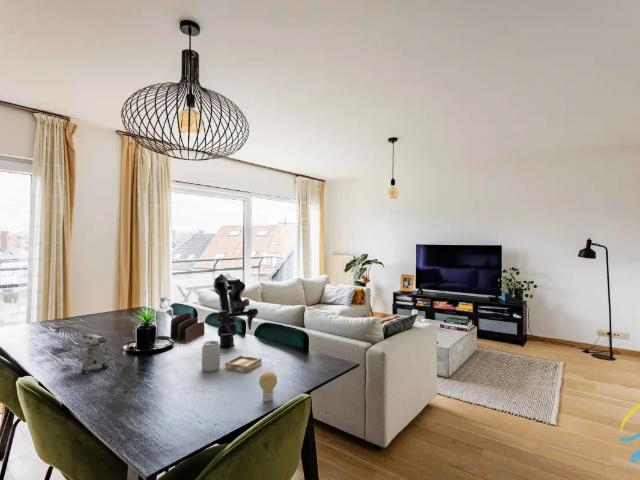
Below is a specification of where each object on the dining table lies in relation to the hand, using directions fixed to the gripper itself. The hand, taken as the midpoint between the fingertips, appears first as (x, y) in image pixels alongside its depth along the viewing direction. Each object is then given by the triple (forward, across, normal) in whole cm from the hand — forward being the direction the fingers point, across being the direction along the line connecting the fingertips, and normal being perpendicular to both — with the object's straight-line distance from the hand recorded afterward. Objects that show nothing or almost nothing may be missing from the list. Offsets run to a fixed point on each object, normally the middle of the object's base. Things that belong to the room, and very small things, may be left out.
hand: (240, 330), depth 161 cm
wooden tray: (+15, 0, +4) cm, 16 cm away
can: (+14, -14, +6) cm, 21 cm away
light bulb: (+38, -2, -25) cm, 45 cm away
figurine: (0, -60, +25) cm, 64 cm away
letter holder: (-20, -16, +51) cm, 57 cm away
